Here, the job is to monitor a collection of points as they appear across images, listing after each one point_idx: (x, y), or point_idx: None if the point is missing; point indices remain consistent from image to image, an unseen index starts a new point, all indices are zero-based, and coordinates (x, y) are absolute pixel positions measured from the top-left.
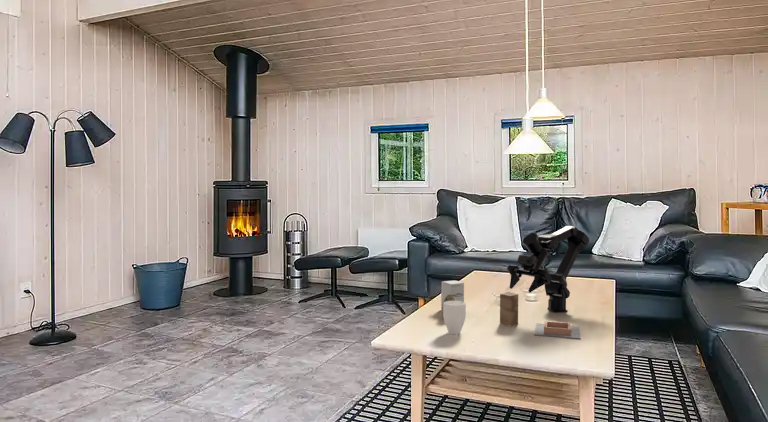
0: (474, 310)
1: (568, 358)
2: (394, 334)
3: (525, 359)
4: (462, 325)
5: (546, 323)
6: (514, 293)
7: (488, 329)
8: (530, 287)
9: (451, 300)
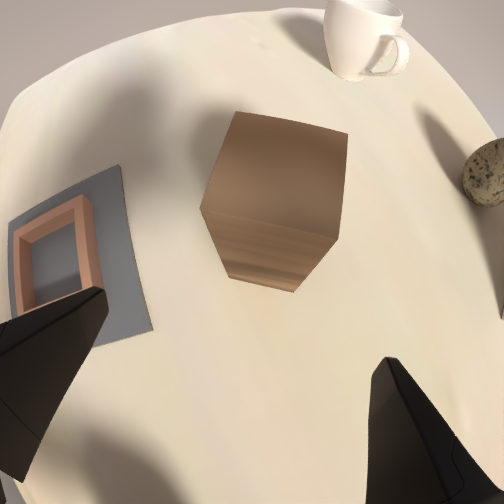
0: (483, 362)
1: (51, 93)
2: (413, 44)
3: (123, 44)
4: (327, 49)
5: (80, 256)
6: (250, 218)
7: None
8: (63, 304)
9: (497, 142)
